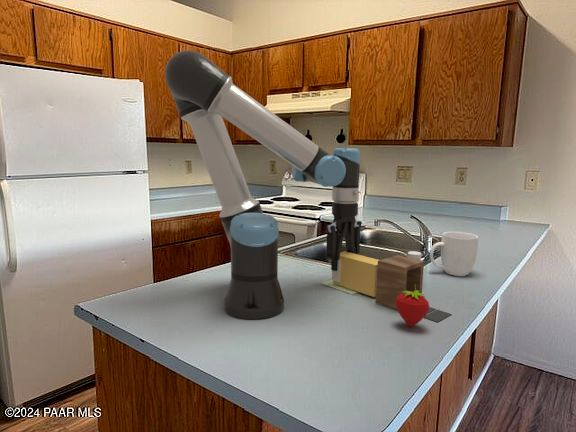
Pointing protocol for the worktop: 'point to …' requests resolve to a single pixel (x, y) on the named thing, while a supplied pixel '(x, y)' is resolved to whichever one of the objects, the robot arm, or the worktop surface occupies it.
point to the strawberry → (412, 307)
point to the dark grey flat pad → (436, 315)
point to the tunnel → (397, 278)
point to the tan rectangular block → (358, 273)
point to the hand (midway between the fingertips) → (342, 278)
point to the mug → (457, 252)
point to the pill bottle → (414, 255)
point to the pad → (338, 287)
